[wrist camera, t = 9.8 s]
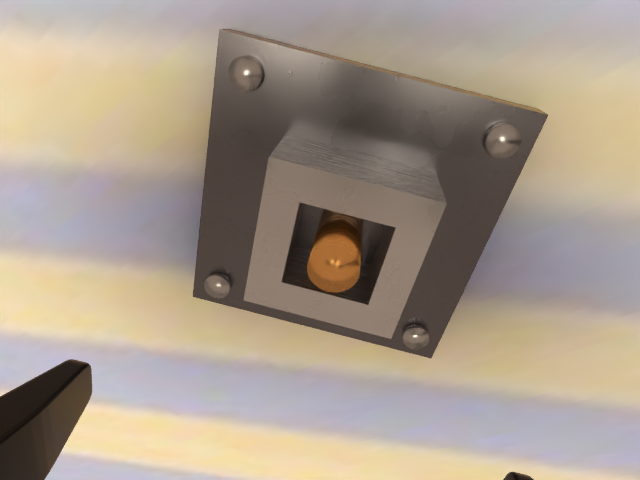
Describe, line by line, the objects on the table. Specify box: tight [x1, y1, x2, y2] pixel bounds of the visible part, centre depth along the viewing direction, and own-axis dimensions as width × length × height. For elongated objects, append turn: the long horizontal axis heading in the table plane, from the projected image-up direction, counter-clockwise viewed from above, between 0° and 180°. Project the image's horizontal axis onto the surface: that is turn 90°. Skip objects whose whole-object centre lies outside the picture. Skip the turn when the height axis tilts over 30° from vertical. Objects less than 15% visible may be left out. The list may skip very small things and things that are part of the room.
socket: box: [244, 134, 447, 339], centre depth 17 cm, size 6×6×3 cm
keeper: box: [193, 29, 548, 358], centre depth 17 cm, size 12×12×5 cm
